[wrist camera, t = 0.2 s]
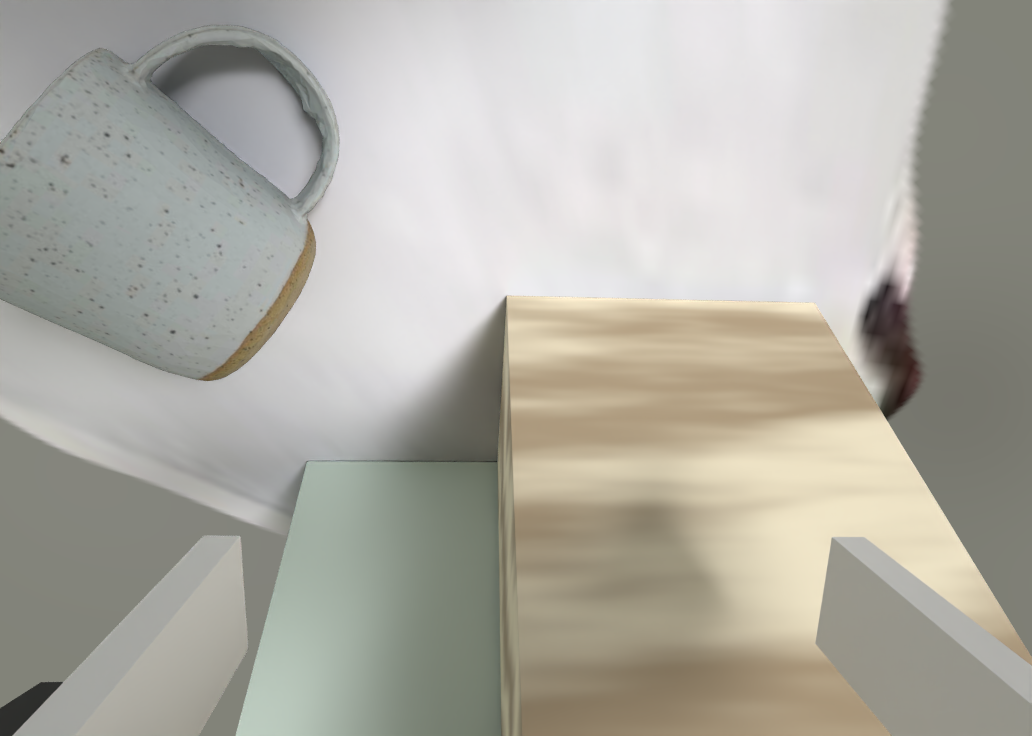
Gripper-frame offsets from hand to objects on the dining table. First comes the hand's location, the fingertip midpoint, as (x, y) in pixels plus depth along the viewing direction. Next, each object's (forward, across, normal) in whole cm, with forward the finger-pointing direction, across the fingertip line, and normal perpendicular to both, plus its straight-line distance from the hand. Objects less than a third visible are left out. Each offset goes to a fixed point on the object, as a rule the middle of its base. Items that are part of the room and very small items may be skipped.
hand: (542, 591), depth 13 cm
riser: (+23, -4, -8) cm, 24 cm away
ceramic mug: (+11, -11, +10) cm, 19 cm away
